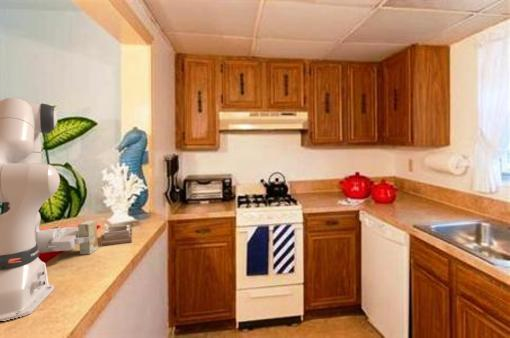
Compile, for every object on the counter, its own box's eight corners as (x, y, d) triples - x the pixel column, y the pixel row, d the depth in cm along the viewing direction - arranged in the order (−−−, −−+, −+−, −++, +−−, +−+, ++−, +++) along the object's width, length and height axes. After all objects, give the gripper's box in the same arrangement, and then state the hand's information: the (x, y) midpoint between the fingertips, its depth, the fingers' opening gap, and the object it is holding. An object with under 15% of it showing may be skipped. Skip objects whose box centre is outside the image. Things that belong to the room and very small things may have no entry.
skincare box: (90, 254, 124) (88, 224, 123) (79, 254, 124) (77, 224, 123) (98, 248, 130) (96, 220, 129) (88, 248, 130) (86, 220, 129)
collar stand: (131, 242, 137) (131, 232, 137) (101, 246, 133) (100, 236, 133) (132, 231, 154) (131, 222, 154) (105, 234, 150) (104, 225, 149)
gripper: (43, 240, 112) (86, 235, 117) (56, 225, 131) (93, 222, 136) (44, 257, 113) (87, 251, 117) (57, 240, 132) (94, 236, 136)
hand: (90, 235), depth 127 cm, fingers closed on skincare box, 7 cm apart
